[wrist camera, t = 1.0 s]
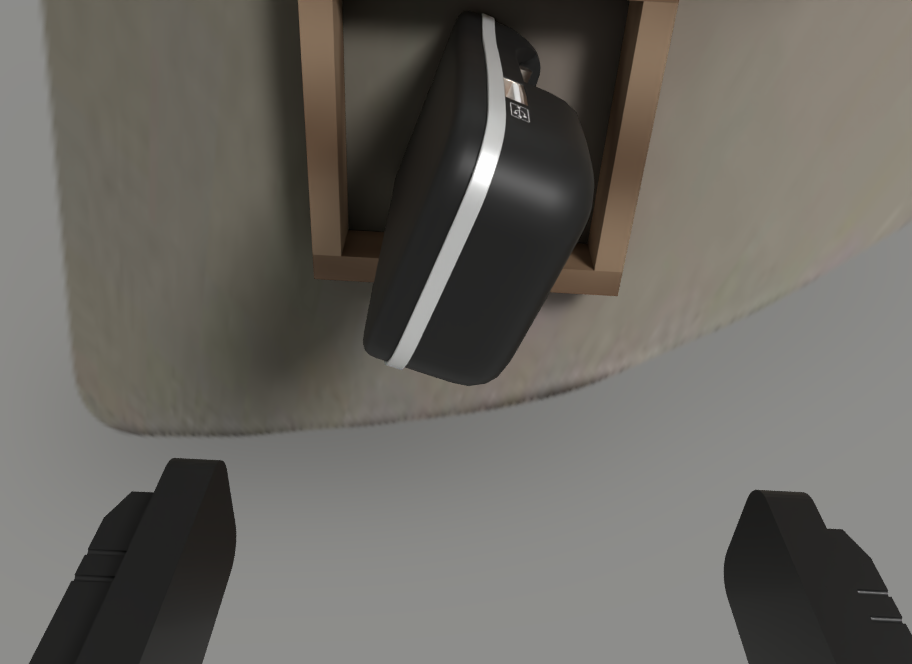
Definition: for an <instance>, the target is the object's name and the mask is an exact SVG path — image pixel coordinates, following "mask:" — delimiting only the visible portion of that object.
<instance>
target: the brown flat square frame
mask: <svg viewBox="0 0 912 664" xmlns="http://www.w3.org/2000/svg"><path fill="white" fill-rule="evenodd" d="M678 3H679V0H630V2H629V8H628V14H627V19H626V25H625V31H624V37H623V43H622V48H621V54H620V60H619V66H618V71H617V77H616V83H615V89H614V94H613V100H612V106H611V112H610V117H609V123H608V129H607V135H606V140H605V146H604V152H603V158H602V163H601V169H600V175H599V181H598V186H597V192H596V198H595V204H594V209H593V215H592V221H591V227H590V233H589V238H588V244H581V243H577V244H576V245H575V247H574V249H573V251H572V253H571V255H570V256H569V258H568V260H567V262H566V264H565V265H564V267H563V269H562V271H561V273H560V275H559V276H558V278H557V280H556V282H555V284H554V285H553V287H552V289H551V291H550V292H554V293H572V294H589V295H607V296H618V291H619V287H620V282H621V277H622V272H623V267H624V263H625V258H626V253H627V248H628V243H629V238H630V234H631V229H632V224H633V219H634V214H635V210H636V205H637V200H638V195H639V190H640V186H641V181H642V176H643V171H644V166H645V162H646V157H647V152H648V147H649V142H650V138H651V133H652V128H653V123H654V118H655V113H656V109H657V104H658V99H659V94H660V89H661V85H662V80H663V75H664V70H665V65H666V61H667V56H668V51H669V46H670V41H671V37H672V32H673V27H674V22H675V17H676V13H677V8H678ZM298 9H299V26H300V44H301V61H302V78H303V96H304V113H305V130H306V147H307V165H308V182H309V199H310V216H311V234H312V251H313V268H314V279H324V280H342V281H359V282H374V279H375V274H376V270H377V265H378V260H379V256H380V251H381V246H382V242H383V237H384V232H373V231H356V230H348V193H347V156H346V119H345V82H344V45H343V7H342V0H298Z"/></svg>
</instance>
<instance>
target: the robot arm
mask: <svg viewBox="0 0 912 664" xmlns="http://www.w3.org/2000/svg"><path fill="white" fill-rule="evenodd" d="M235 547H236V525H235V518H234V512H233V506H232V499H231V493H230V487H229V480H228V474H227V468H226V465H225V463H224V461H221V460H202V459H182V458H173V459H171V460H170V461H169V462H168V464H167V465H166V467H165V470H164V472H163V474H162V476H161V478H160V480H159V483H158V485H157V487H156V489H155V491H154V493H152V492H131V493H130V494H129V495H128V496H127V497H126V498H124V499H123V500H122V501H121V502H120V503H119V504H118V505H117V506H116V507H115V508H114V509H113V510H112V511H111V512H110V513H108V514H107V515H106V516H105V517H104V519H103V521H102V523H101V524H100V527H99V528H98V530H97V532H96V534H95V536H94V538H93V540H92V542H91V544H90V546H89V548H88V554H87V555H85V556H84V558H83V559H82V562H81V563H80V565H79V567H78V569H77V571H76V573H75V579H74V581H71V583H70V585H69V587H68V589H67V591H66V593H65V595H64V596H63V598H62V601H61V602H60V605H59V606H58V608H57V610H56V612H55V614H54V616H53V618H52V620H51V622H50V624H49V626H48V628H47V630H46V631H45V633H44V636H43V637H42V639H41V641H40V643H39V645H38V647H37V649H36V651H35V653H34V655H33V657H32V659H31V661H30V663H29V664H202V662H203V659H204V656H205V653H206V650H207V646H208V643H209V640H210V637H211V634H212V630H213V627H214V624H215V621H216V617H217V614H218V611H219V608H220V605H221V602H222V598H223V595H224V592H225V589H226V585H227V582H228V579H229V576H230V573H231V569H232V566H233V561H234V556H235ZM724 583H725V589H726V594H727V597H728V600H729V604H730V607H731V610H732V613H733V616H734V619H735V622H736V625H737V629H738V632H739V635H740V638H741V641H742V644H743V647H744V650H745V653H746V656H747V660H748V663H749V664H912V635H911V633H910V631H909V629H908V627H907V625H906V624H903V623H902V616H901V614H900V612H899V610H898V608H897V606H896V605H895V603H894V601H893V599H892V597H888V590H887V588H886V586H885V584H884V582H883V580H882V578H881V576H880V575H879V572H878V571H877V569H876V567H875V565H874V563H873V561H872V559H871V558H870V557H869V556H868V555H867V554H866V553H865V552H864V551H863V550H862V549H861V548H860V547H859V546H858V545H857V544H856V543H855V542H854V541H853V540H852V539H851V538H850V537H849V536H848V535H847V534H846V533H845V532H844V531H843V530H841V529H827V528H826V526H825V524H824V522H823V520H822V518H821V516H820V514H819V512H818V509H817V507H816V505H815V504H814V502H813V500H812V499H811V497H810V496H809V495H808V494H806V493H804V492H786V491H767V490H766V491H765V490H754V491H752V492H751V493H750V495H749V497H748V499H747V501H746V504H745V506H744V509H743V512H742V514H741V517H740V519H739V522H738V524H737V527H736V530H735V532H734V535H733V537H732V540H731V543H730V545H729V548H728V550H727V553H726V557H725V563H724Z"/></svg>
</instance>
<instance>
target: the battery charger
mask: <svg viewBox="0 0 912 664" xmlns="http://www.w3.org/2000/svg"><path fill="white" fill-rule="evenodd" d="M539 75H540V62H539V57H538V54H537V52H536V50H535V49H534V48H533V46H532V45H531V44H530V43H529V42H528V41H527V40H526V39H525V38H524V37H522V36H521V35H519V34H518V33H517V32H515V31H514V30H513V29H511V28H509V27H507V26H504V25H502V24H500V23H497V22H495V19H494V18H493V17H491V16H489V15H486V14H484V13H482V14H481V15H479V14H477V13H474V12H471V11H464V12H462V13H461V14H460V15H459V16H458V18H457V20H456V22H455V25H454V27H453V30H452V33H451V35H450V38H449V40H448V43H447V45H446V48H445V51H444V53H443V56H442V58H441V61H440V64H439V66H438V69H437V71H436V74H435V77H434V79H433V82H432V84H431V87H430V90H429V92H428V95H427V97H426V100H425V103H424V105H423V108H422V110H421V113H420V116H419V118H418V121H417V123H416V126H415V129H414V131H413V134H412V137H411V139H410V142H409V144H408V147H407V150H406V152H405V155H404V157H403V160H402V163H401V165H400V168H399V171H398V173H397V176H396V178H395V183H394V189H393V194H392V199H391V204H390V209H389V214H388V219H387V223H386V228H385V232H384V237H383V242H382V246H381V251H380V256H379V260H378V265H377V270H376V274H375V279H374V284H373V289H372V294H371V299H370V304H369V309H368V314H367V320H366V325H365V330H364V337H363V345H364V349H365V351H366V352H367V353H368V354H369V355H371V356H373V357H375V358H378V359H381V360H384V363H385V365H388V366H391V367H394V368H397V369H400V370H402V369H403V368H404V367H406V368H409V369H412V370H415V371H418V372H421V373H424V374H427V375H430V376H433V377H436V378H439V379H442V380H445V381H449V382H452V383H457V384H461V385H466V386H472V385H479V384H485V383H488V382H489V381H491V380H493V379H495V378H496V377H498V376H499V374H500V373H501V372H502V371H503V370H504V368H505V367H506V366H507V365H508V363H509V362H510V361H511V359H512V358H513V356H514V354H515V353H516V351H517V349H518V347H519V346H520V344H521V342H522V340H523V339H524V337H525V335H526V333H527V332H528V330H529V328H530V326H531V325H532V323H533V321H534V319H535V318H536V316H537V314H538V312H539V311H540V309H541V307H542V305H543V303H544V302H545V300H546V298H547V296H548V294H549V293H550V291H551V289H552V287H553V285H554V284H555V282H556V280H557V278H558V276H559V275H560V273H561V271H562V269H563V267H564V265H565V264H566V262H567V260H568V258H569V256H570V255H571V253H572V251H573V249H574V247H575V245H576V244H577V242H578V240H579V238H580V236H581V234H582V232H583V230H584V228H585V226H586V224H587V221H588V219H589V216H590V213H591V209H592V204H593V194H594V175H593V169H592V163H591V158H590V153H589V149H588V145H587V141H586V138H585V136H584V133H583V130H582V127H581V124H580V121H579V118H578V115H577V113H576V112H575V111H574V110H573V109H572V108H571V107H570V106H569V105H568V104H567V103H566V102H565V101H564V100H562V99H560V98H558V97H556V96H555V95H553V94H551V93H549V92H547V91H545V90H542V89H540V88H538V87H536V84H537V81H538V78H539Z"/></svg>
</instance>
